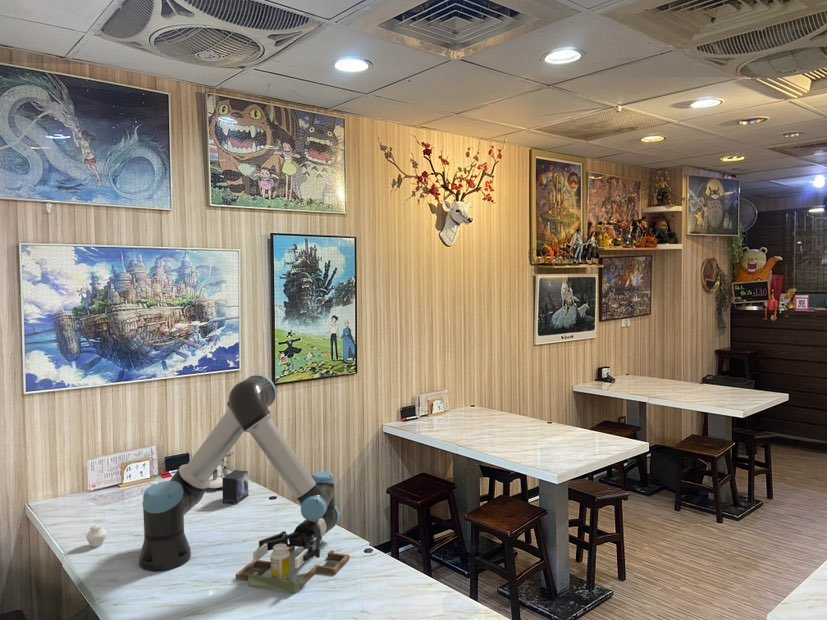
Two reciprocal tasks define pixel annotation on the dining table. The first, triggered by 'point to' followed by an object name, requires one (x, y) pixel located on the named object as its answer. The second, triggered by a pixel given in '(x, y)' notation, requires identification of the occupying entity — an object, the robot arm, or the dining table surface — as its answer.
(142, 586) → the dining table surface
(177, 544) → the robot arm
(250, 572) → the lane
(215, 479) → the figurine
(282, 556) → the supplement bottle
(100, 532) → the off-white rounded lump
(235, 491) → the small box
